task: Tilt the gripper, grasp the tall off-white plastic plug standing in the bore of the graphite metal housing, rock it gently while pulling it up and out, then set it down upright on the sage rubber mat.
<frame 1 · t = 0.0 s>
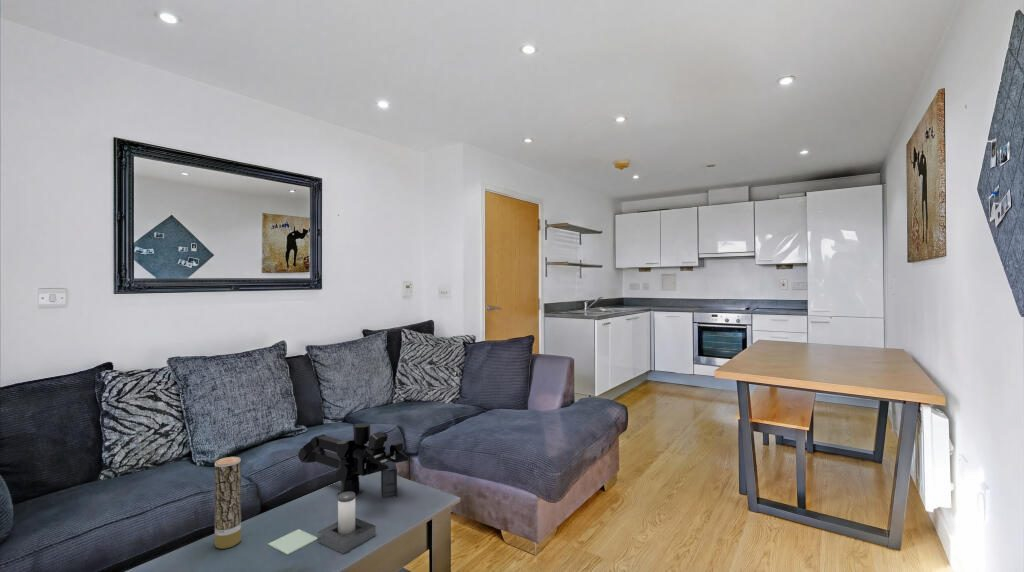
hand: (398, 463, 162), 17 cm above the table, tool horizontal, fingers open, 9 cm apart
housing: (346, 538, 144), on the table
plug: (346, 516, 144), in the housing
mat: (293, 542, 142), on the table
bark textured cylinder: (228, 544, 142), on the table
box: (388, 493, 176), on the table
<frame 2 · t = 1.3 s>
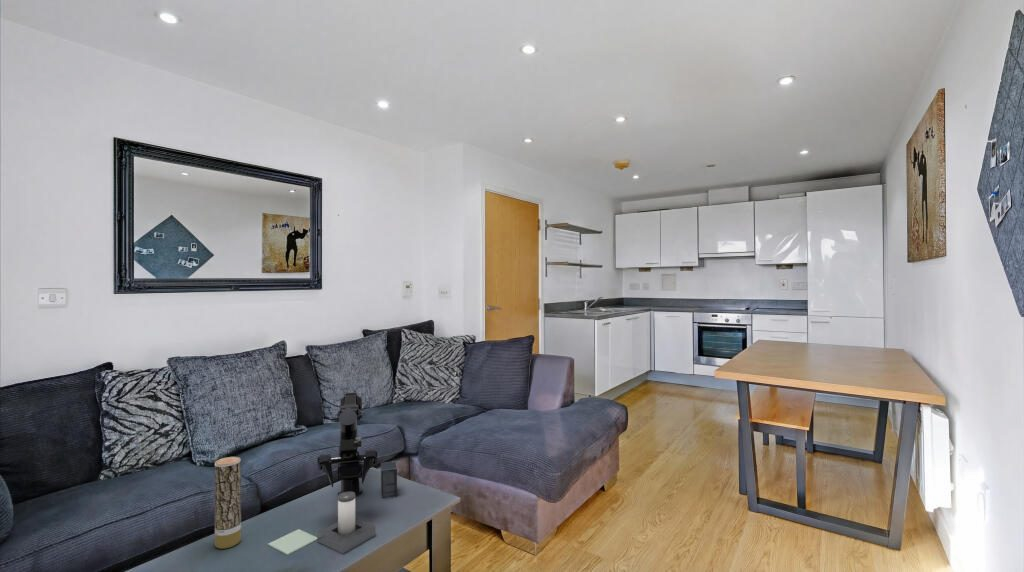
hand: (347, 484, 151), 13 cm above the table, tool tilted 45°, fingers open, 9 cm apart
nothing on the table moved.
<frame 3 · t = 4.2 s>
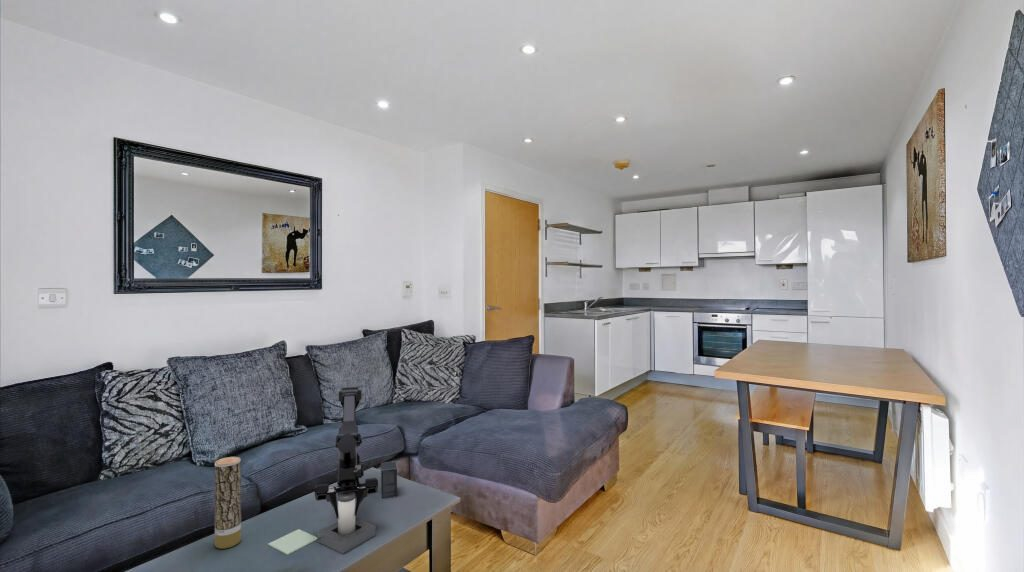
hand: (346, 517, 143), 7 cm above the table, tool tilted 45°, fingers closed on plug, 5 cm apart
plug: (346, 516, 144), in the housing, touching gripper
everything else where it was.
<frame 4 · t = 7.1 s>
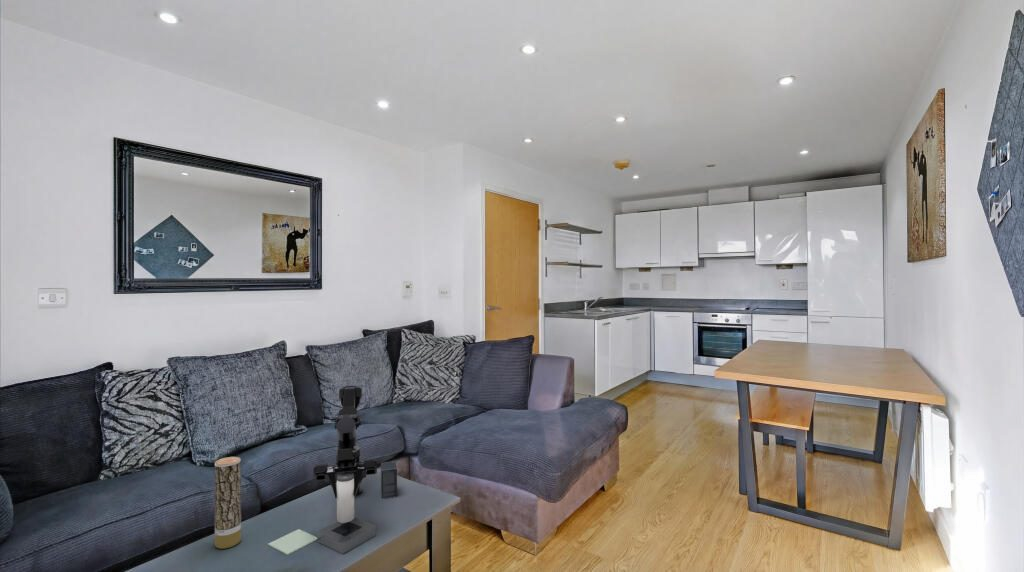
hand: (345, 496, 143), 13 cm above the table, tool tilted 45°, fingers closed on plug, 5 cm apart
plug: (345, 496, 144), point 13 cm above the table, touching gripper
everything else where it was.
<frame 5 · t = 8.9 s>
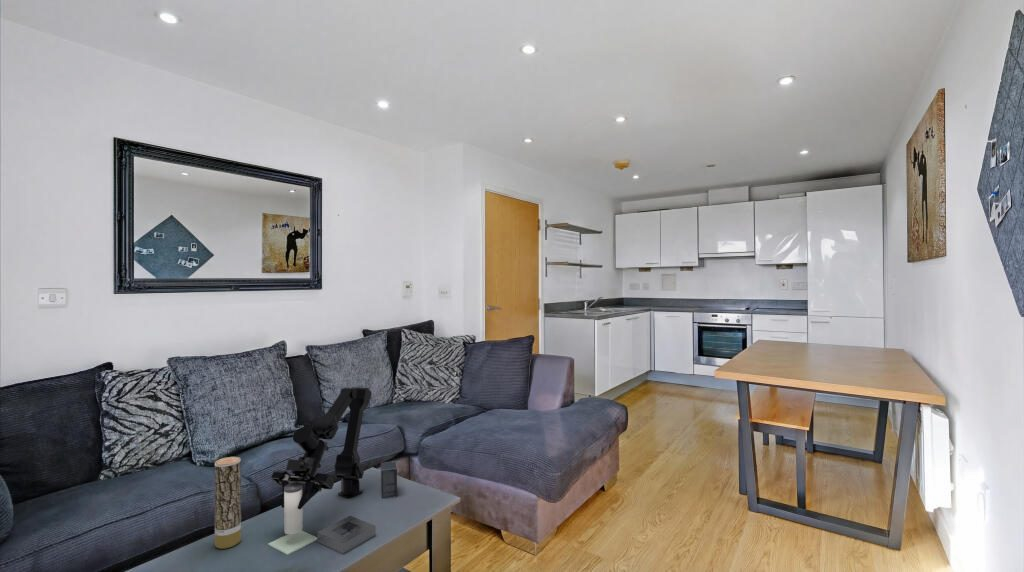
hand: (290, 508, 141), 11 cm above the table, tool tilted 45°, fingers closed on plug, 5 cm apart
plug: (293, 508, 142), point 10 cm above the table, touching gripper
everything else where it was.
when the fingers open (9 cm above the table, at t = 10.1 s): plug drops 1 cm, resting on mat.
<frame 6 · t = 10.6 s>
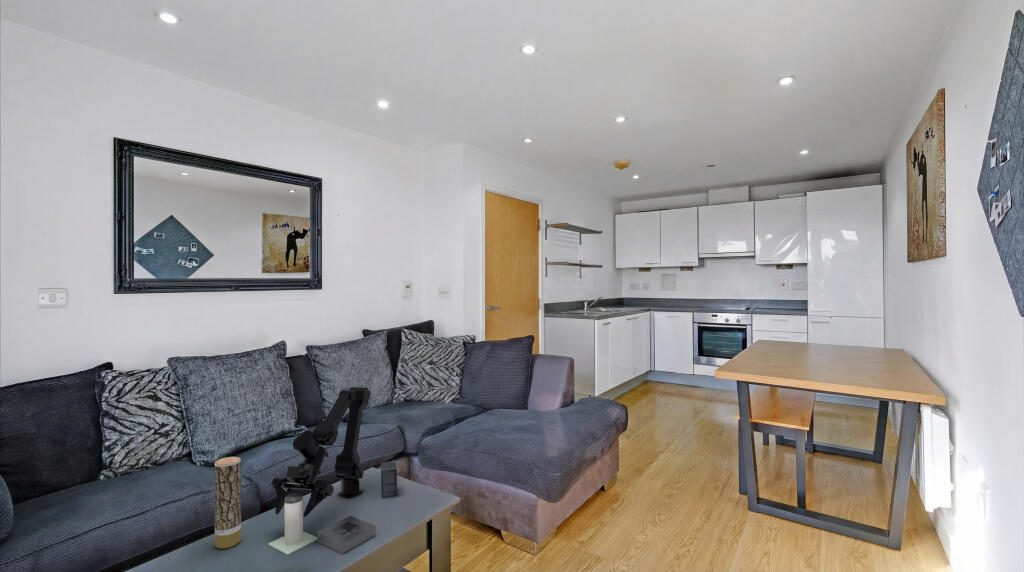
hand: (290, 515, 141), 9 cm above the table, tool tilted 45°, fingers open, 9 cm apart
plug: (293, 518, 142), on the mat
everything else where it was.
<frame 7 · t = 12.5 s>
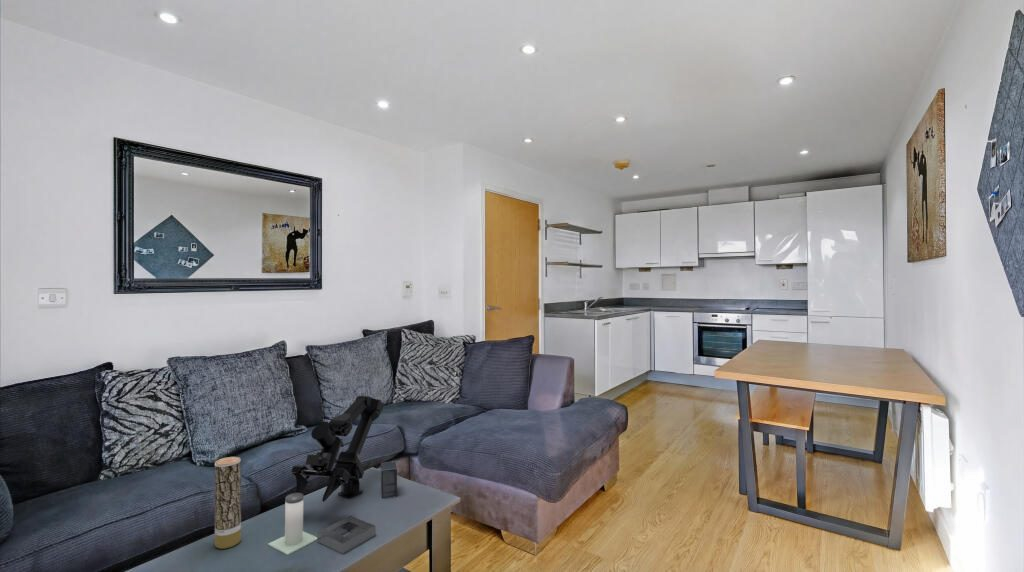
hand: (309, 500, 150), 9 cm above the table, tool tilted 45°, fingers open, 9 cm apart
nothing on the table moved.
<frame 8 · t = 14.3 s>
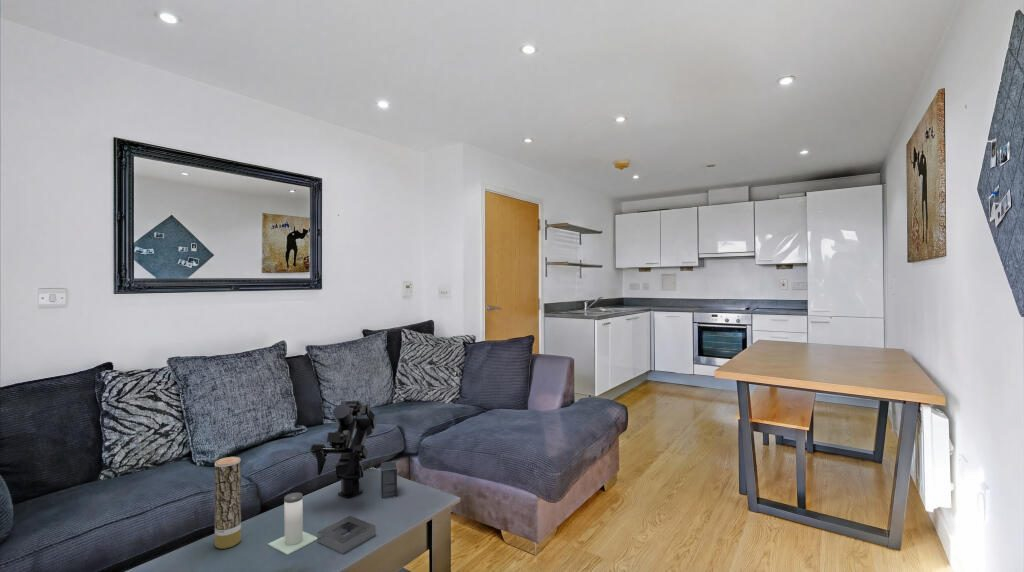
hand: (332, 475, 159), 14 cm above the table, tool tilted 45°, fingers open, 9 cm apart
nothing on the table moved.
at the end: plug 0.1 cm off-centre on the mat, point 7.2 cm above the mat's base; plug tilted 2°; the gripper is holding nothing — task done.
